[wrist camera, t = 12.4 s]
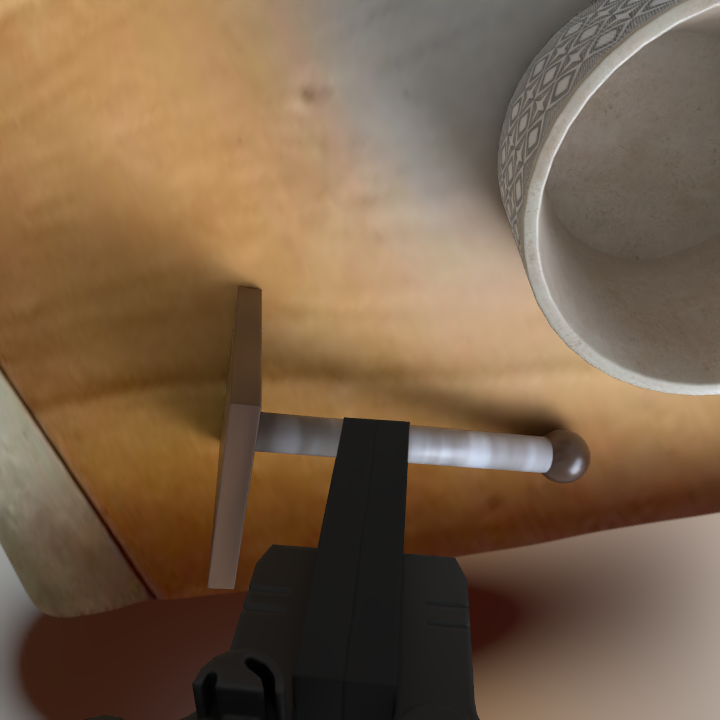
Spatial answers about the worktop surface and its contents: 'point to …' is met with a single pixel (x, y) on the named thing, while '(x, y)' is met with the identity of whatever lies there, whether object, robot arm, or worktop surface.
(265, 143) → the worktop surface
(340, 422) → the paper towel stand
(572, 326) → the planter
